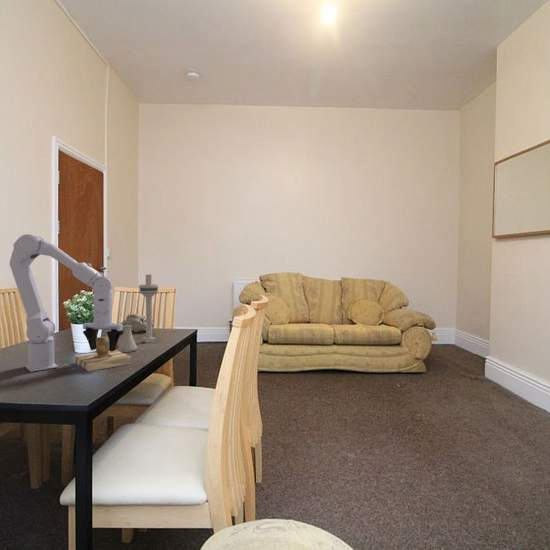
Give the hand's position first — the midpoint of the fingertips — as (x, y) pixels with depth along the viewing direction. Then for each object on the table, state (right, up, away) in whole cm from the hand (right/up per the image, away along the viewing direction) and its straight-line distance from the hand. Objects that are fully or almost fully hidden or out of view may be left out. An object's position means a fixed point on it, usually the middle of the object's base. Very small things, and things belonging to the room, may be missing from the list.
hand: (102, 350), depth 132 cm
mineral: (-11, -3, +63) cm, 64 cm away
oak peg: (0, -5, 0) cm, 5 cm away
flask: (+1, -4, +20) cm, 20 cm away
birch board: (0, -5, 0) cm, 5 cm away
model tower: (+4, -4, +37) cm, 38 cm away
